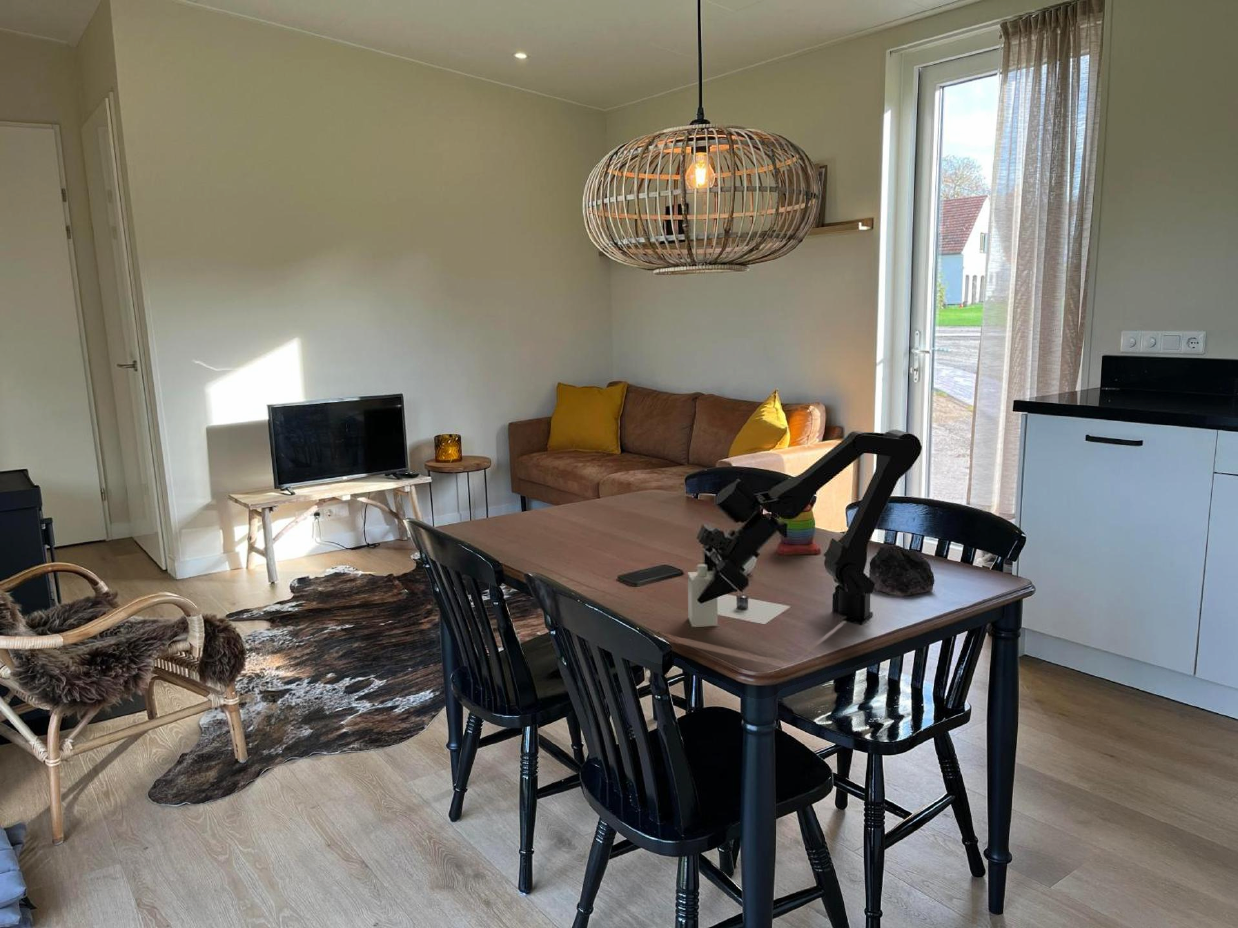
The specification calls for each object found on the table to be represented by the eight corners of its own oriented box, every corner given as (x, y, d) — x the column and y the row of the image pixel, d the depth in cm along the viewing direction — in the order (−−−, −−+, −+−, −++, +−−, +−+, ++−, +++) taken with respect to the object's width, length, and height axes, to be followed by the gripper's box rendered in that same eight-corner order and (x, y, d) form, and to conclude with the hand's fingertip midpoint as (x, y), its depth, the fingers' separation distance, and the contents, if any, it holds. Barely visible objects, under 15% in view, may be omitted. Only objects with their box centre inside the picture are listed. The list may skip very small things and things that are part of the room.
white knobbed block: (713, 621, 174) (712, 561, 171) (717, 630, 169) (717, 568, 166) (688, 622, 173) (687, 562, 171) (692, 631, 168) (691, 570, 166)
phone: (686, 571, 205) (634, 583, 197) (686, 575, 205) (634, 588, 197) (665, 563, 211) (615, 575, 203) (665, 568, 212) (615, 580, 203)
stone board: (790, 610, 178) (790, 606, 178) (764, 628, 169) (764, 624, 168) (722, 597, 187) (722, 593, 187) (694, 614, 178) (694, 609, 178)
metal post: (750, 607, 178) (750, 595, 178) (744, 610, 176) (744, 599, 176) (739, 605, 179) (739, 593, 179) (734, 608, 178) (734, 597, 177)
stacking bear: (780, 555, 218) (780, 487, 215) (772, 545, 228) (772, 479, 225) (822, 554, 218) (823, 485, 215) (812, 543, 228) (813, 477, 225)
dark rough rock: (942, 600, 184) (946, 554, 183) (879, 596, 184) (883, 551, 183) (920, 585, 197) (924, 542, 196) (861, 582, 197) (865, 539, 196)
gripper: (712, 500, 176) (660, 555, 178) (731, 522, 158) (672, 583, 159) (750, 536, 178) (698, 590, 179) (773, 561, 160) (715, 621, 161)
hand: (695, 594), depth 170 cm, fingers open, 8 cm apart
